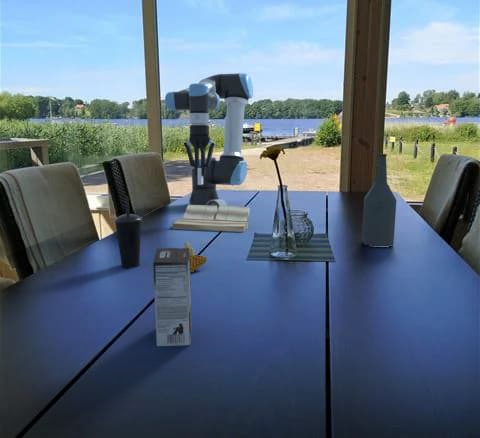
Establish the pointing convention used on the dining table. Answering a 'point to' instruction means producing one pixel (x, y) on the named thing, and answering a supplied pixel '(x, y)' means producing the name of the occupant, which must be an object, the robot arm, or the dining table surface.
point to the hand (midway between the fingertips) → (200, 184)
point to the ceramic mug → (217, 203)
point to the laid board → (210, 225)
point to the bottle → (379, 210)
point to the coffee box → (172, 296)
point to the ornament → (195, 258)
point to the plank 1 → (200, 212)
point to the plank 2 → (232, 213)
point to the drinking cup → (129, 238)
